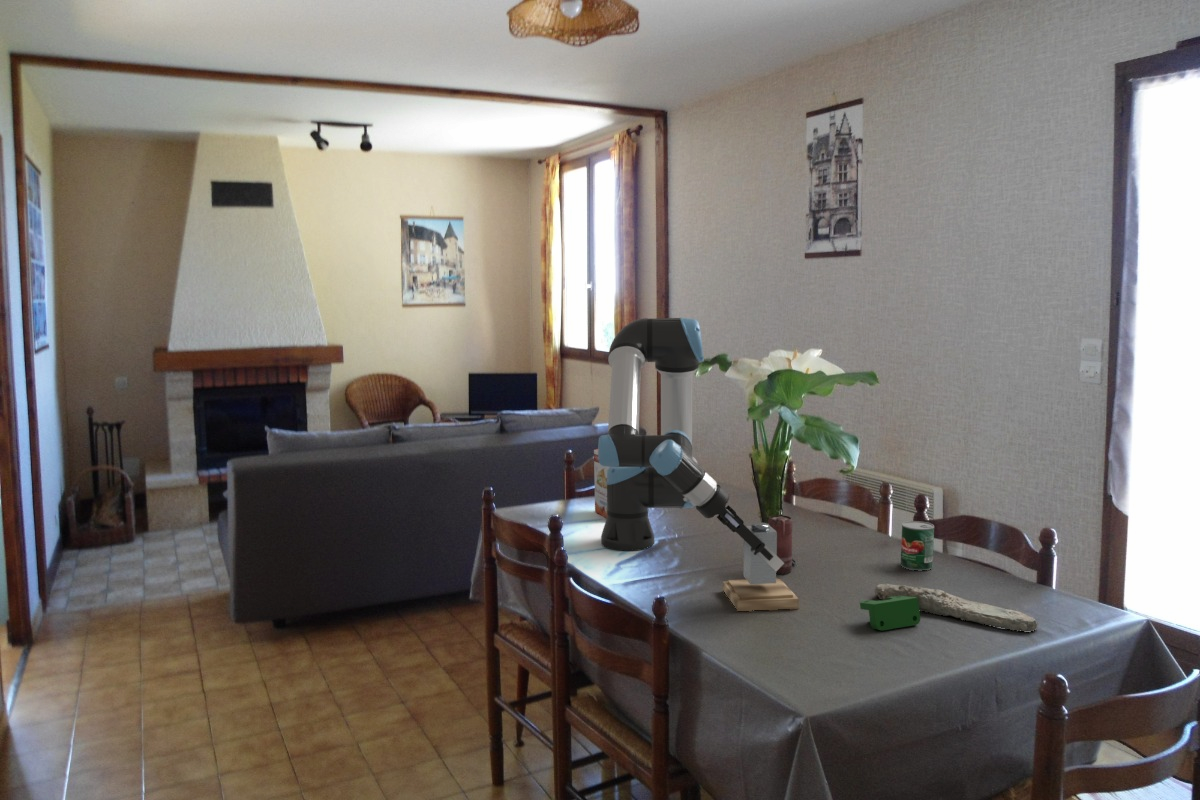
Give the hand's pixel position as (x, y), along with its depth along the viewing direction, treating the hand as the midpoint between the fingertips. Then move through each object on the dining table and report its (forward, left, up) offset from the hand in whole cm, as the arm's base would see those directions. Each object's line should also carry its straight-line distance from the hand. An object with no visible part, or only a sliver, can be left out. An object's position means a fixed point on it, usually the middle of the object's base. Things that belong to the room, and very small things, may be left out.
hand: (775, 562), depth 207 cm
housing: (0, -4, -4) cm, 5 cm away
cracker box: (-81, -29, -9) cm, 87 cm away
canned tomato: (-19, +43, -9) cm, 48 cm away
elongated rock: (+13, +36, -9) cm, 40 cm away
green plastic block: (+18, +20, -9) cm, 28 cm away
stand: (0, -4, -9) cm, 10 cm away
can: (-20, +7, -9) cm, 23 cm away
